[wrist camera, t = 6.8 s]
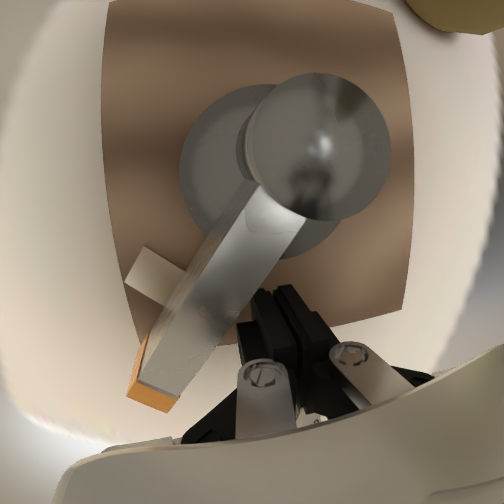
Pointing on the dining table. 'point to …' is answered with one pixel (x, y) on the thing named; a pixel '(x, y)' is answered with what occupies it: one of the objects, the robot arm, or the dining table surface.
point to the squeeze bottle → (461, 14)
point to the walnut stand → (211, 89)
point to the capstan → (259, 207)
